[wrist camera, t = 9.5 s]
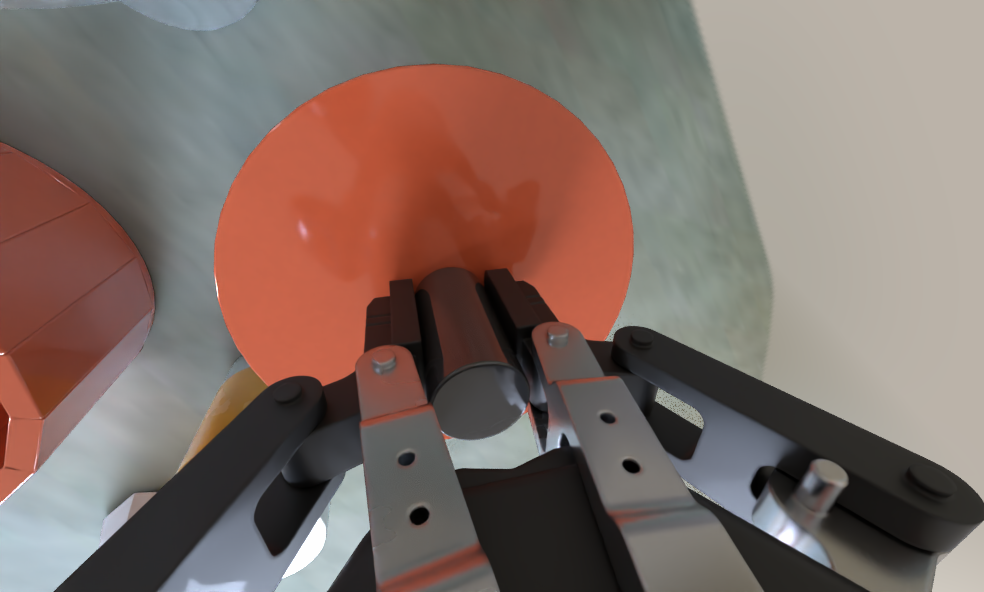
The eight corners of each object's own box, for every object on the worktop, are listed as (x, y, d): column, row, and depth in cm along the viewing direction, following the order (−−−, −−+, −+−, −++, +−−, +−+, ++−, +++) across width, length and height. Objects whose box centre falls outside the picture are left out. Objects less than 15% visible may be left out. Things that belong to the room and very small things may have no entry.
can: (213, 412, 22) (126, 589, 15) (243, 327, 20) (160, 481, 13) (324, 432, 25) (299, 591, 17) (360, 358, 23) (350, 501, 15)
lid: (180, 378, 13) (55, 568, 8) (311, -62, 9) (218, -241, 4) (507, 445, 19) (553, 581, 14) (686, 196, 15) (849, 263, 10)
